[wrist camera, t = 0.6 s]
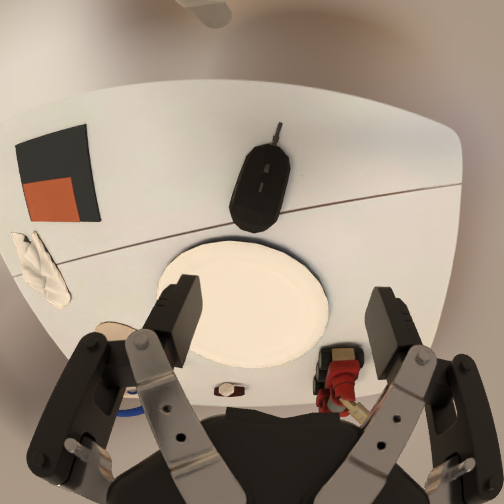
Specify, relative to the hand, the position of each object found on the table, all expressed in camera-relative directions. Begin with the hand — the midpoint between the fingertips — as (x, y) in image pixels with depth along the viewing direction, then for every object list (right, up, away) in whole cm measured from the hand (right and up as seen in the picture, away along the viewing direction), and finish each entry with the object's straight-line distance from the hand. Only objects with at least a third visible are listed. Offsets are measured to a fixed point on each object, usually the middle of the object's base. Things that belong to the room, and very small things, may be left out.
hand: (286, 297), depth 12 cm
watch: (-7, -30, +47) cm, 57 cm away
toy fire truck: (+17, -21, +39) cm, 48 cm away
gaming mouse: (0, +11, +21) cm, 24 cm away
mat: (-36, +15, +24) cm, 45 cm away
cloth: (-50, -1, +36) cm, 61 cm away
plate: (-3, -8, +34) cm, 35 cm away
